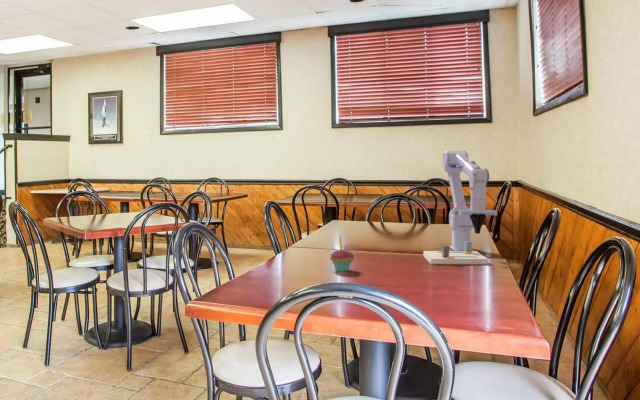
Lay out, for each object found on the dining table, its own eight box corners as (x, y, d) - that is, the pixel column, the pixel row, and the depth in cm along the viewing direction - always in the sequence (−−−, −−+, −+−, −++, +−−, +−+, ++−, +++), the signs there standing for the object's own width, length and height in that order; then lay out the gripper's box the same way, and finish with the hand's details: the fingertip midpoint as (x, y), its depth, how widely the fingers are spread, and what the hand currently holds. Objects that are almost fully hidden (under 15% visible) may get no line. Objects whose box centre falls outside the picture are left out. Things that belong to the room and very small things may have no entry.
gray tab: (441, 255, 176) (441, 244, 175) (446, 255, 176) (447, 244, 175) (443, 256, 173) (443, 246, 172) (448, 256, 173) (449, 246, 172)
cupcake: (326, 268, 165) (326, 235, 164) (347, 266, 168) (347, 233, 167) (336, 273, 157) (336, 238, 156) (358, 271, 160) (358, 237, 159)
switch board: (423, 255, 186) (423, 249, 186) (475, 256, 185) (476, 249, 185) (431, 264, 171) (431, 257, 171) (488, 264, 170) (488, 257, 170)
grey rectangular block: (464, 250, 184) (464, 240, 184) (469, 250, 184) (469, 240, 184) (466, 252, 181) (466, 242, 181) (471, 252, 181) (471, 242, 181)
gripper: (462, 200, 179) (461, 234, 180) (500, 200, 178) (499, 234, 179) (457, 198, 186) (456, 232, 187) (493, 198, 185) (493, 232, 186)
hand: (477, 233), depth 184 cm, fingers closed
